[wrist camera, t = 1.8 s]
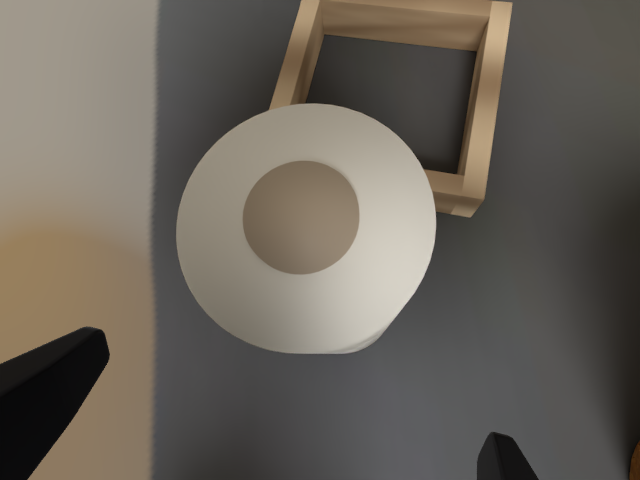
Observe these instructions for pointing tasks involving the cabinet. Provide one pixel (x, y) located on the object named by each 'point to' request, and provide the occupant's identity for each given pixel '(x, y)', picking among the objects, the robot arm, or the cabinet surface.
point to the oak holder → (420, 29)
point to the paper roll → (306, 229)
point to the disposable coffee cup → (635, 464)
